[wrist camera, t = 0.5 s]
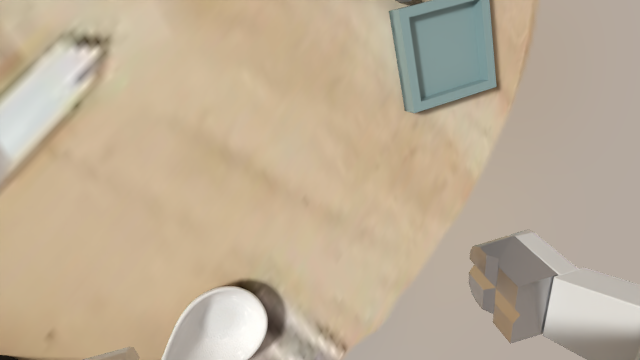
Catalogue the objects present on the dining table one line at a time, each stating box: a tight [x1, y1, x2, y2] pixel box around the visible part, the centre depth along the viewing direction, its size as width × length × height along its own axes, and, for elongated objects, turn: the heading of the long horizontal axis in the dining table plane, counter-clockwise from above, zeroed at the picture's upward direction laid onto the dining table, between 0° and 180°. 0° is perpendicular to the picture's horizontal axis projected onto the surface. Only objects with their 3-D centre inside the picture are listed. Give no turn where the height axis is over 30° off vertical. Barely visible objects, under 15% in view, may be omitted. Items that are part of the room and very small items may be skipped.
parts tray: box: [389, 0, 496, 113], centre depth 57 cm, size 13×13×2 cm
